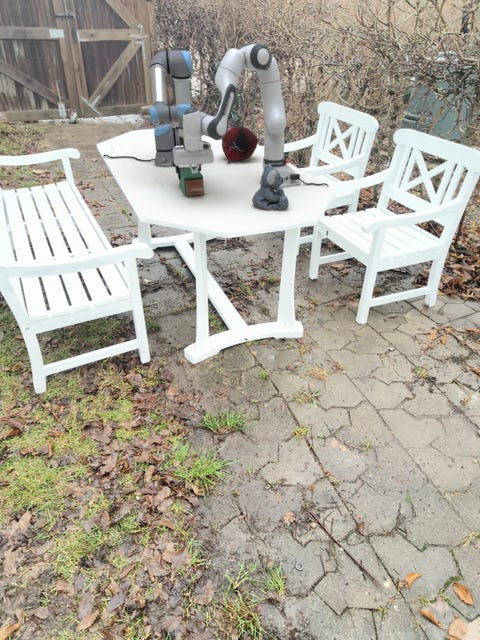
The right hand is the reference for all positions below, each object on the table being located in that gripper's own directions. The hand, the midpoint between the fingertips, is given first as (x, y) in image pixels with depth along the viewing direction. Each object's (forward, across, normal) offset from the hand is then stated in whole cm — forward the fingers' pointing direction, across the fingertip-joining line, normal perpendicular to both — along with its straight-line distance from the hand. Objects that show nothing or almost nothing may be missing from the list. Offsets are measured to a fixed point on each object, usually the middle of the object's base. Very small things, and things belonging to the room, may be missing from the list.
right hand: (194, 173), depth 231 cm
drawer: (+13, 0, +9) cm, 16 cm away
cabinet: (+14, 0, +15) cm, 20 cm away
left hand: (+9, 0, +21) cm, 23 cm away
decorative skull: (+14, +42, +68) cm, 82 cm away
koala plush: (+13, +34, -20) cm, 42 cm away
